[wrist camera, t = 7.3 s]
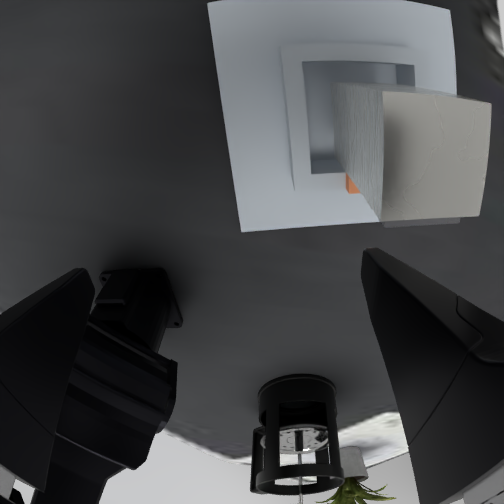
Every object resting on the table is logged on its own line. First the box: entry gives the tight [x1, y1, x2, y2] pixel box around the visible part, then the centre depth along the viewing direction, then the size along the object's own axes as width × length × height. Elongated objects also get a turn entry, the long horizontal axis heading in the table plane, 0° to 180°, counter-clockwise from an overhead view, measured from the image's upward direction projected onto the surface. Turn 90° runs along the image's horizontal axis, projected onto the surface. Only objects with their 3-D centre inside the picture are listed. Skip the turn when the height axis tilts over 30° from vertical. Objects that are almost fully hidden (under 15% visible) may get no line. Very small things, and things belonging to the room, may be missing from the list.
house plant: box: [316, 447, 396, 504], centre depth 39 cm, size 14×14×16 cm
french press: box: [250, 374, 345, 504], centre depth 25 cm, size 12×9×23 cm
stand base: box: [207, 0, 456, 232], centre depth 16 cm, size 16×16×4 cm
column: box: [330, 82, 491, 228], centre depth 11 cm, size 5×4×8 cm
